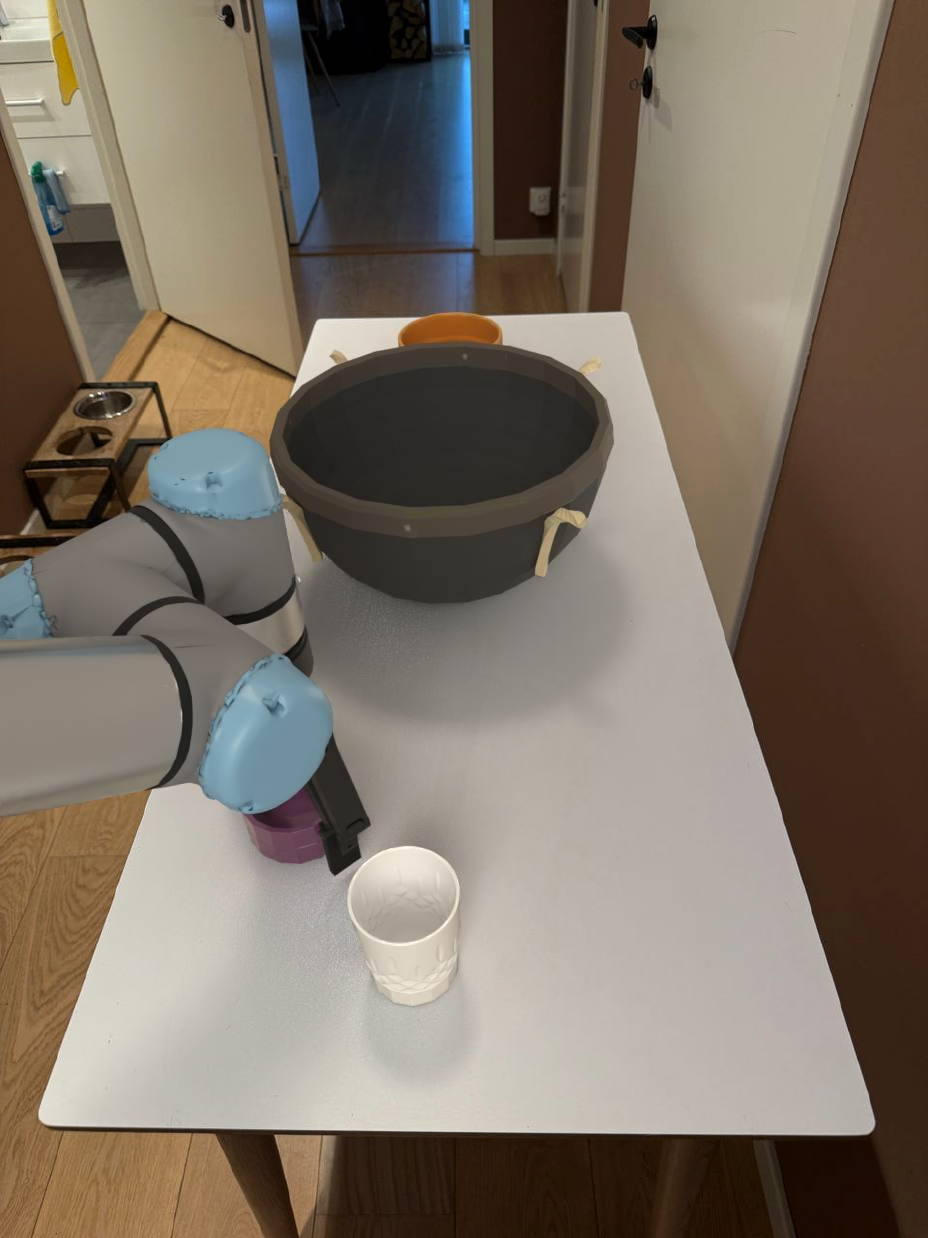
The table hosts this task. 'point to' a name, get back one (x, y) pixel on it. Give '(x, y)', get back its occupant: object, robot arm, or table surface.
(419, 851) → the white cup
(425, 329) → the flower pot
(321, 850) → the plum dish
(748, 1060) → the table surface
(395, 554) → the bowl
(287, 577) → the robot arm
